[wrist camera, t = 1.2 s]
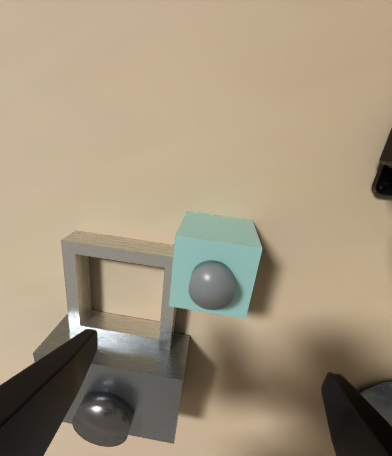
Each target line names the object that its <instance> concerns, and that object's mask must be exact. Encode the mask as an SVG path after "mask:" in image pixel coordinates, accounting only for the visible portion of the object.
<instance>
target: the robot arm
mask: <svg viewBox="0 0 392 456" xmlns="http://www.w3.org/2000/svg"><path fill="white" fill-rule="evenodd" d="M380 162H381V163H380V166H379V169H378V171H377V174H376V176H375V179H374V182H373V184H372V189H373V191H374V192H376V193H379V194H384V195H391V196H392V129H391V132H390V134H389V137H388V139H387V142H386V145H385V147H384V150H383V153H382V155H381V158H380ZM382 183H384V187H383V188H382V189H380V185H381V184H382ZM97 348H98V335H97V331H96V330H94V329H85V330H83V331H82V332H80V333H79V334H77V335H76V336H74V337H73V338H71V339H70V340H68V341H67V342H65V343H64V344H62V345H61V346H59V347H57V348H56V349H54V350H53V351H51V352H50V353H48V354H47V355H45V356H44V357H42V358H41V359H39V360H38V361H36V362H35V363H33V364H32V365H30V366H29V367H27V368H26V369H24V370H23V371H21V372H20V373H18V374H17V375H15V376H14V377H12V378H10V379H9V380H7V381H6V382H4V383H3V384H1V385H0V456H44V454H45V452H46V450H47V448H48V447H49V445H50V443H51V441H52V439H53V438H54V436H55V434H56V432H57V430H58V429H59V427H60V425H61V423H62V421H63V420H64V418H65V416H66V414H67V412H68V411H69V409H70V407H71V405H72V403H73V402H74V400H75V398H76V396H77V394H78V392H79V390H80V388H81V386H82V384H83V381H84V379H85V377H86V374H87V372H88V370H89V368H90V365H91V363H92V361H93V358H94V356H95V354H96V352H97ZM321 392H322V398H323V402H324V407H325V412H326V416H327V421H328V426H329V430H330V435H331V439H332V443H333V446H334V450H335V453H336V456H392V426H391V425H390V424H389V423H388V422H387V421H386V420H385V418H384V417H383V416H382V415H381V414H380V413H379V412H378V411H377V410H376V409H375V408H374V407H373V406H372V405H371V404H370V403H369V402H368V401H367V400H366V399H365V398H364V397H363V396H362V395H361V394H360V393H359V392H358V391H357V390H356V389H355V388H354V387H353V386H352V385H351V384H350V383H349V382H348V381H347V379H346V378H345V377H344V376H343V375H341V374H340V373H335V372H328V373H327V375H326V378H325V380H324V382H323V384H322V388H321Z"/></svg>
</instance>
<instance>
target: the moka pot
mask: <svg viewBox="0 0 392 456" xmlns="http://www.w3.org/2000/svg"><path fill="white" fill-rule="evenodd" d="M360 394H361V395H362V396H363V397H364V398H365V399H366V400H367V401H368V402H369V403H370V404H371V405H372V406H373V407H374V408H375V409H376V410H377V411H378V412H379V413H380V414H381V415H382V416H383V417H384V418H385V420H386V421H387V422H388V423H389V424H390V425H391V426H392V381H390V382H383V383H379V384H377V385H375V386H373V387H371V388H369V389H366V390H364V391H361V392H360Z"/></svg>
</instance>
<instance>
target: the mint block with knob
mask: <svg viewBox="0 0 392 456" xmlns="http://www.w3.org/2000/svg"><path fill="white" fill-rule="evenodd" d="M261 253H262V246H261V243H260V240H259V237H258V234H257V231H256V229H255V226H254V223H253V220H246V219H239V218H232V217H225V216H218V215H211V214H203V213H196V212H189V211H187V212H186V214H185V216H184V219H183V221H182V223H181V225H180V227H179V229H178V231H177V233H176V235H175V243H174V254H173V265H172V276H171V288H170V299H169V306H171V307H177V308H183V309H189V310H195V311H201V312H207V313H214V314H220V315H226V316H232V317H238V318H244V319H246V316H247V312H248V308H249V304H250V299H251V295H252V291H253V287H254V282H255V278H256V274H257V270H258V265H259V261H260V257H261Z"/></svg>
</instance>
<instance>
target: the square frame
mask: <svg viewBox="0 0 392 456" xmlns="http://www.w3.org/2000/svg"><path fill="white" fill-rule="evenodd" d="M61 245H62V255H63V266H64V276H65V287H66V297H67V308H68V314H67V315H66V316H65V317H64V319H63V320H62V321H61V322H60V323H59V324H58V325H57V327H56V328H55V329H54V330H53V331H52V332H51V333H50V334H49V336H48V337H47V338H46V339H45V340H44V341H43V342H42V344H41V345H40V346H39V347H38V348H37V349H36V350H35V352H34V353H33V355H34V361H35V362H36V361H38V360H39V359H41V358H42V357H44V356H45V355H47V354H48V353H50V352H51V351H53V350H54V349H56V348H57V347H59V346H61V345H62V344H64V343H65V342H67V341H68V340H70V339H71V338H73V337H74V336H76V335H77V334H79V333H80V332H82V331H83V330H85V329H94V330H96V331H97V335H98V348H97V352H96V354H95V356H94V358H93V361H92V363H91V365H90V368H89V370H88V372H87V374H86V377H85V379H84V381H83V384H82V386H81V388H80V390H79V392H78V394H77V396H76V398H75V400H74V402H73V403H72V405H71V407H70V409H69V411H68V412H67V414H66V416H65V418H64V420H63V421H62V422H66V423H71V424H73V427H74V429H75V431H76V432H77V433H78V435H80V436H81V437H82V438H83V439H85V440H86V441H88V442H90V443H93V444H95V445H99V446H105V447H112V446H117V445H120V444H122V443H123V442H124V441H125V440H126V439H127V436H128V435H132V436H137V437H143V438H148V439H153V440H158V441H163V442H168V443H173V444H174V440H175V434H176V427H177V421H178V415H179V409H180V402H181V396H182V389H183V382H184V375H185V367H186V360H187V353H188V345H189V338H190V335H185V334H179V333H174V329H175V320H176V310H177V307H171V306H169V299H170V288H171V276H172V265H173V254H174V245H168V244H162V243H155V242H148V241H142V240H135V239H128V238H122V237H115V236H109V235H102V234H95V233H89V232H82V231H75V232H73V233H72V234H70V235H68V236H67V237H65V238H64V239H62V240H61ZM89 256H91V257H97V258H103V259H110V260H116V261H123V262H129V263H136V264H142V265H148V266H155V267H161V268H165V270H164V283H163V296H162V309H161V322H158V321H152V320H146V319H140V318H134V317H128V316H123V315H117V314H111V313H105V312H99V311H93V310H92V306H91V287H90V267H89Z"/></svg>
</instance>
